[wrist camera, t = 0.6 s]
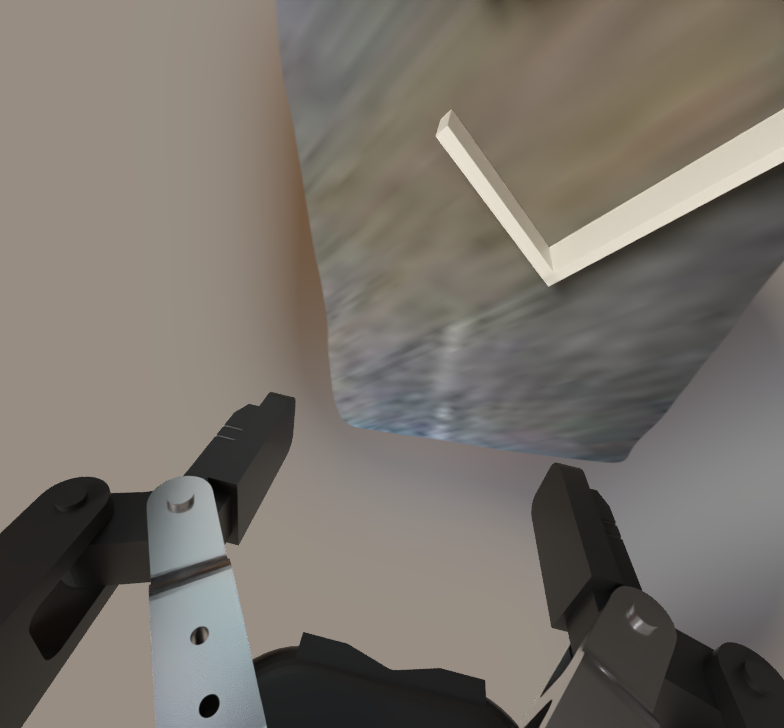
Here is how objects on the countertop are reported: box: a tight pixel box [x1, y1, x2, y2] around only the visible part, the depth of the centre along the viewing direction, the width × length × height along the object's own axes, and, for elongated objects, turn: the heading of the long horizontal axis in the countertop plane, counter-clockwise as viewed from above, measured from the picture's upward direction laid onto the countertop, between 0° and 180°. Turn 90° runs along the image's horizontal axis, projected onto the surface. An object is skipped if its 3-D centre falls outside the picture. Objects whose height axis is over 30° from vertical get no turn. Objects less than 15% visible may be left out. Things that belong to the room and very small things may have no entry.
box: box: [436, 109, 784, 287], centre depth 26 cm, size 15×20×4 cm
